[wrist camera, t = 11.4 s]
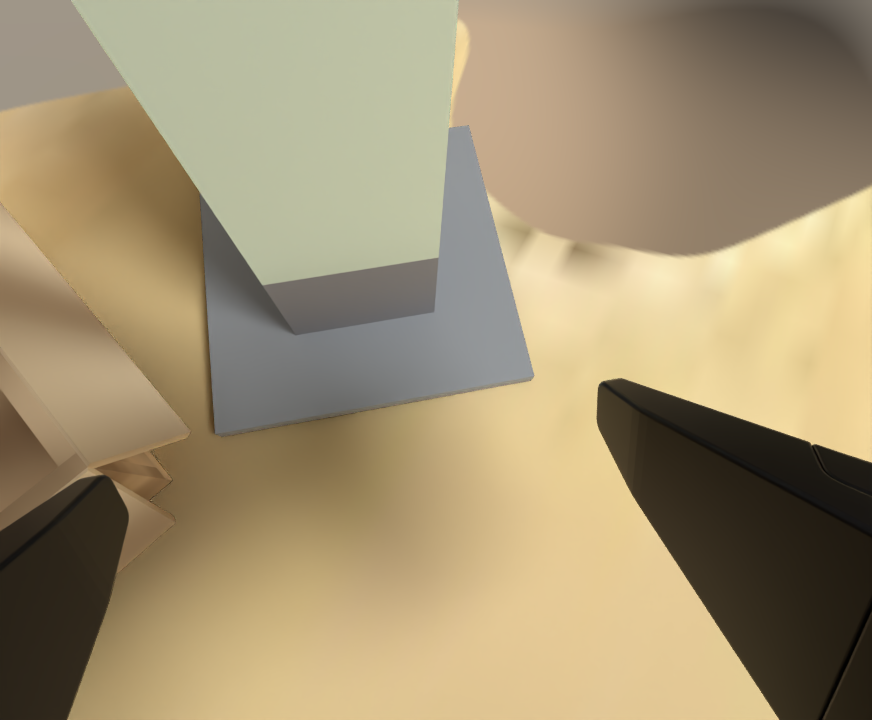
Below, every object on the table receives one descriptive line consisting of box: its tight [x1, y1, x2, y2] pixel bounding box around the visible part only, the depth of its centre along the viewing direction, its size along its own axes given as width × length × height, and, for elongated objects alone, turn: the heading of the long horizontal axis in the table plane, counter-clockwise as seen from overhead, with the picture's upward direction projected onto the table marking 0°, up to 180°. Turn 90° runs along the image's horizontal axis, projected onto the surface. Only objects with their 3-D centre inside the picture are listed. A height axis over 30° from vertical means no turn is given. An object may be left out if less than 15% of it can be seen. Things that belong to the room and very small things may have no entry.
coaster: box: [200, 125, 534, 437], centre depth 19 cm, size 11×11×1 cm
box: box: [71, 0, 459, 335], centre depth 12 cm, size 5×5×13 cm
